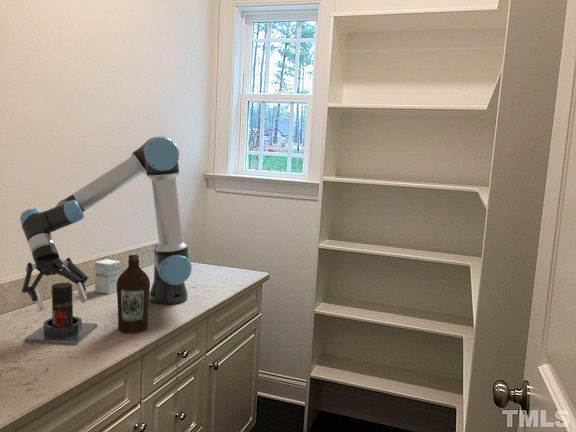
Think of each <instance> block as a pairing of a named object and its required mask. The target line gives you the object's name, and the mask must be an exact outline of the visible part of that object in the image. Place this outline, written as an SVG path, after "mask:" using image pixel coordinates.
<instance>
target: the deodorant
mask: <svg viewBox="0 0 576 432" xmlns="http://www.w3.org/2000/svg"><path fill="white" fill-rule="evenodd" d="M51 298H52V299H51V304H52V305H51V307H52V309H51V311H52V312H51V313H52V314H51V315H52V321H53V327H63V326H70V325H73V316H74V313H73V312H74V311H73V303H74V301H73V300H74V299H73V283H71V282H58V283H54V284H52V285H51Z"/></svg>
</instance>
